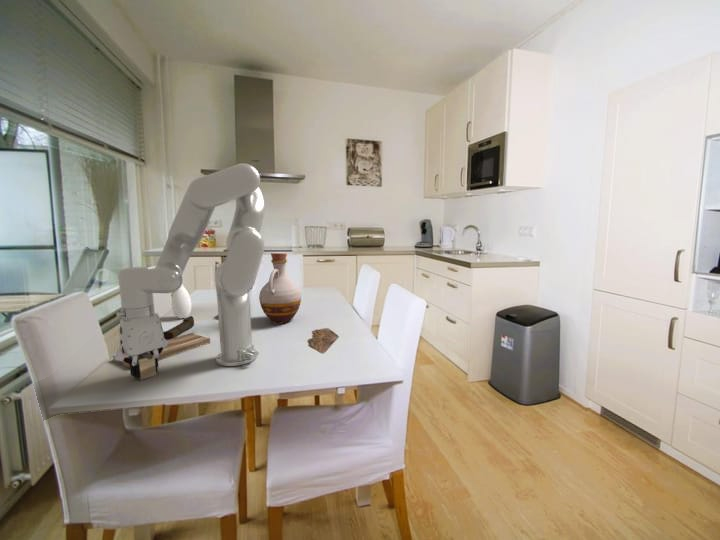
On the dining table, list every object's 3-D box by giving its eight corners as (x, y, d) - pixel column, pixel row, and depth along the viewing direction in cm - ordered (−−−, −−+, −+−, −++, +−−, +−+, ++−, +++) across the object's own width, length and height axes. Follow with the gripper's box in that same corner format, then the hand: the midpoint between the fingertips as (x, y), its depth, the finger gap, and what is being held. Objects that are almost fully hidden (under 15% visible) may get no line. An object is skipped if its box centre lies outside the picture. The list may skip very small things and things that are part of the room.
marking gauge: (160, 376, 97) (157, 352, 96) (145, 382, 94) (142, 356, 93) (145, 370, 101) (143, 346, 100) (130, 375, 98) (128, 350, 97)
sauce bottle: (173, 321, 148) (170, 281, 146) (172, 317, 155) (168, 278, 152) (193, 319, 153) (190, 279, 150) (191, 314, 159) (188, 276, 156)
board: (210, 342, 124) (210, 338, 123) (132, 369, 102) (131, 364, 102) (191, 336, 130) (190, 332, 130) (113, 360, 108) (112, 355, 108)
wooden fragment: (313, 329, 139) (313, 326, 139) (340, 329, 139) (340, 326, 139) (302, 354, 114) (302, 351, 113) (335, 354, 114) (335, 351, 113)
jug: (292, 329, 138) (289, 255, 133) (251, 327, 140) (247, 255, 136) (307, 315, 157) (305, 250, 152) (270, 314, 160) (267, 250, 155)
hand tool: (172, 341, 125) (171, 329, 125) (162, 341, 126) (161, 329, 125) (200, 325, 144) (199, 315, 143) (191, 325, 144) (190, 314, 144)
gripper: (110, 321, 86) (118, 389, 89) (176, 307, 100) (181, 366, 102) (97, 317, 90) (105, 382, 92) (162, 303, 104) (167, 360, 106)
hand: (145, 373), depth 97 cm, fingers closed on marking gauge, 4 cm apart
